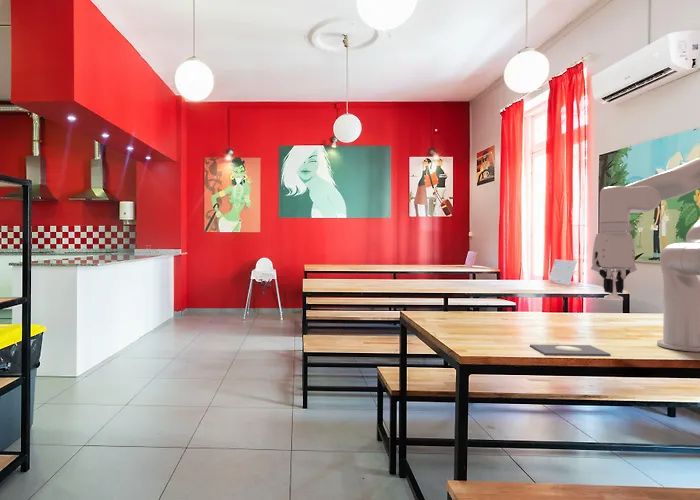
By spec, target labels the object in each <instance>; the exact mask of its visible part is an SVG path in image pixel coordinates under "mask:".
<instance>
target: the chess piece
mask: <svg viewBox="0 0 700 500" xmlns="http://www.w3.org/2000/svg"><path fill="white" fill-rule="evenodd" d="M616 269H617V268H611V279H613V292H612V293H608V295H604V297H603V300H605V301H617V302H618V301H624V297H623V296H620V295H619V293H617V291H616V281H618V280H616V276H617V274H618V272H616Z"/></svg>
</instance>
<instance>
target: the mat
mask: <svg viewBox="0 0 700 500" xmlns="http://www.w3.org/2000/svg"><path fill="white" fill-rule="evenodd" d="M529 347H530V348H532V349H534V350H535V351H537V352H539V353H541V354H542V355H544V356H591V357H592V356H593V357H594V356H595V357H596V356H597V357H600V356H601V357H607V356H608V357H609V356H610V357H611V353H609V352H607V351H604V350H602V349H600V348H598V347H595V346H593V345H591V344H530V343H529Z"/></svg>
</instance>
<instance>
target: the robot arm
mask: <svg viewBox="0 0 700 500" xmlns="http://www.w3.org/2000/svg"><path fill="white" fill-rule="evenodd" d="M699 189H700V157H698V158H695V159H693V160H689V162H685V163H683V164H681V165H678V166H676V167H674V168H671V169H669V170H665V171H664V172H661V173H658V174H654V175H651V176H650V177H647V178H644V179H641V180H638V181H635V182H633V183H629V184H627V185H613V186H606V187H603V188H602V189H600V192H599V225H598V226H599V233H596V235H595V237H594V242H593V247H592V248H593V249H592V258H591V259H592V261H591V263H592V266H591V267H590V269H591V271H593V272H596V273H597V274H599V275H600V276H601V278H602V279H603V291H604V293H608V294H609V293H612V292H613V279H612V278H611V271H612V269H611V268H617V269H615V271H616V272H618V274H617V276H616V280H618V281H616V291H617V294H623V291H624V288H625V287H624V285H625V284H624V281H625V279H626V278H627V276H628V275H630V274H632V273H634V272H636V271H637V266H636V265H635V262H636V259H635V258H636V254H635V245H634V239H633V235H632V233H630V232H631V231H634V228H635V227H634V225H631V223H630V217H631V215H630V214H638V213H647V212H651V211H654V210H655V209H657V208H658V207H659V205H660V204H661V202H662V201H666V200H671V199H676V198H679V197H683V196H685V195H687V194H689V193H692V192H694V191H696V190H699ZM659 264H660V268H661V273H662V281H663V311H662V312H663V315H662V317H663V323H662V324H663V327H662V328H663V331H662V332H663V333H662V335H663V337H662V339H658V340H657V341H656V344H657V346H659V347H661V348H666V349H670V350H676V351H683V352H692V353H693V352H696V353H699V352H700V279H699V277H698V276H700V218H699V219H698V220H697V221H696V222H695V223H694V224H693V225H692V226H691V228H689V230H688V232H686V235H685V242H675V243H671V244H668V245H667V246H665V247H664V248H663V249H662V250H661V251H660V254H659Z"/></svg>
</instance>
